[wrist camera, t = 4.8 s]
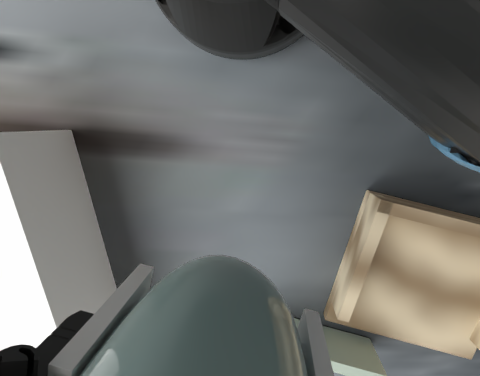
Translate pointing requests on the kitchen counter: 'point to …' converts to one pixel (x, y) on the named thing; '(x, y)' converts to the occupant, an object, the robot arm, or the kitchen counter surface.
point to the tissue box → (46, 237)
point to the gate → (351, 353)
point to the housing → (411, 275)
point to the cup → (205, 326)
